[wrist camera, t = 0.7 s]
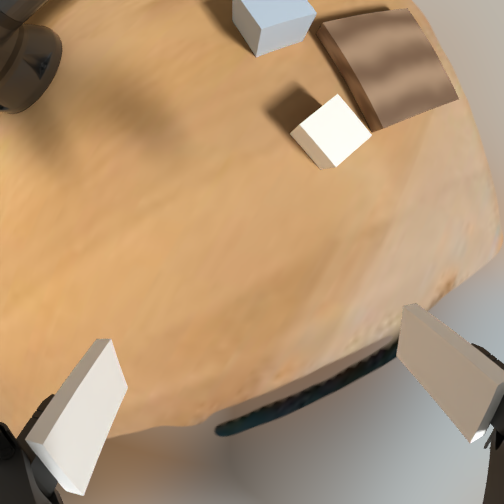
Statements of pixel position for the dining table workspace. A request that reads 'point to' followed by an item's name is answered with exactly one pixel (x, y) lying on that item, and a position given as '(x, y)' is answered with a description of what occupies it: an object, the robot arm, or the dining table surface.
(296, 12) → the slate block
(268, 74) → the dining table surface
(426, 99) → the walnut block
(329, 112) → the white cube
